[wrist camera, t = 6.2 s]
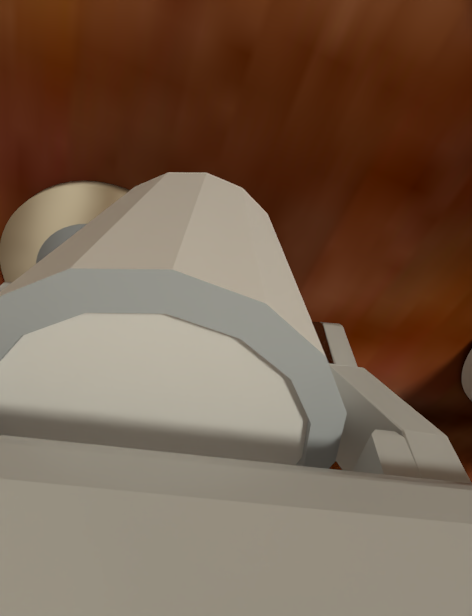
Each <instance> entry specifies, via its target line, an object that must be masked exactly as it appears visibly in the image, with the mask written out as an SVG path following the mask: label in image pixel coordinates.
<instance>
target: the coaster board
mask: <svg viewBox="0 0 472 616" xmlns="http://www.w3.org/2000/svg"><path fill="white" fill-rule="evenodd" d="M129 191H130V190H128V189H126V188H123V187H120V186H117V185H113V184H109V183H104V182H97V181H71V182H66V183H61V184H57V185H54V186H51V187H49V188H46V189H44V190H43V191H41V192H39V193H37V194H36V195H34V196H33V197H32V198H30V199H29V200H28V201H27V202H25V203H24V204H23V205H22V206H20V207H19V208H18V209H17V210H16V211H15V213H14V214H13V215H12V216H11V218H10V219H9V221H8V223H7V224H6V226H5V229H4V231H3V234H2V237H1V243H0V265H1V270H2V274H3V277H4V280H5V282H13V281H15V280H16V279H17V278H19V277H20V276H21V275H22V274H24V273H25V272H26V271H28V270H29V269H30V268H31V267H33V266H34V265H35V264H37V263H38V262H39V261H40V260H42V259H43V258H44V257H46V256H47V255H48V254H49V253H51V252H52V251H53V250H54V249H56V248H57V247H58V246H60V245H61V244H62V243H63V242H65V241H66V240H67V239H69V238H70V237H71V236H72V235H74V234H75V233H76V232H78V231H79V230H80V229H81V228H83V227H84V226H85V225H87V224H88V223H89V222H90V221H92V220H93V219H94V218H95V217H97V216H98V215H99V214H101V213H102V212H103V211H104V210H106V209H107V208H108V207H110V206H111V205H112V204H113V203H115V202H116V201H117V200H119V199H120V198H121V197H122V196H124V195H125V194H126V193H128V192H129Z"/></svg>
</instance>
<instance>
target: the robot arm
mask: <svg viewBox="0 0 472 616" xmlns="http://www.w3.org/2000/svg"><path fill="white" fill-rule="evenodd" d="M11 283H12V282H5V283H3V284H2V285H1V286H0V292H1V291H2V290H3V289H5V288H6V287H7V286H8V285H10V284H11ZM312 324H313V326H314V328H315V331H316V333H317V336H318V338H319V341H320V343H321V346H322V348H323V350H324V353H325V355H326V358H327V361H328V363H329V366H330V369H331V371H332V374H333V377H334V379H335V382H336V385H337V388H338V390H339V393H340V396H341V398H342V401H343V404H344V406H345V409H346V412H347V415H346V419H345V423H344V428H343V432H342V436H341V440H340V444H339V448H338V453H337V457H336V462H337V463H338V464H339V466H340V467H341V469H342V470H336V469H326V468H317V467H307V466H297V465H288V464H278V463H268V462H258V461H249V460H239V459H229V458H220V457H210V456H201V455H191V454H181V453H172V452H162V451H152V450H143V449H133V448H123V447H114V446H104V445H95V444H85V443H75V442H65V441H56V440H46V439H36V438H26V437H16V436H6V435H0V616H472V483H471V481H470V479H469V477H468V476H467V474H466V472H465V470H464V468H463V466H462V464H461V462H460V460H459V458H458V456H457V454H456V452H455V451H454V449H453V447H452V445H451V443H450V441H449V439H448V437H447V436H446V435H445V434H444V433H443V432H441V431H440V430H439V429H438V428H436V427H435V426H434V425H433V424H432V423H430V422H429V421H428V420H427V419H425V418H424V417H423V416H422V415H421V414H419V413H418V412H417V411H416V410H414V409H413V408H412V407H411V406H410V405H408V404H407V403H406V402H405V401H403V400H402V399H401V398H400V397H399V396H397V395H396V394H395V393H394V392H392V391H391V390H390V389H389V388H388V387H386V386H385V385H384V384H383V383H381V382H380V381H379V380H378V379H377V378H375V377H374V376H373V375H372V374H370V373H369V372H368V371H367V370H366V369H364V368H361V367H357V364H356V361H355V358H354V356H353V353H352V350H351V348H350V345H349V342H348V339H347V337H346V334H345V331H344V328H343V326H342V325H341V324H336V323H325V322H312ZM462 386H463V389H464V392H465V393H466V395H467V396H468V398H469V399H470V400H471V401H472V349H471V351H470V353H469V354H468V356H467V358H466V360H465V363H464V366H463V369H462Z"/></svg>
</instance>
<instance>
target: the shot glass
mask: <svg viewBox="0 0 472 616" xmlns="http://www.w3.org/2000/svg"><path fill="white" fill-rule="evenodd" d="M346 415H347V412H346V409H345V406H344V404H343V401H342V398H341V396H340V393H339V390H338V388H337V385H336V382H335V379H334V377H333V374H332V371H331V369H330V366H329V363H328V361H327V358H326V355H325V353H324V350H323V348H322V346H321V343H320V341H319V338H318V336H317V333H316V331H315V328H314V326H313V324H312V321H311V319H310V316H309V314H308V311H307V309H306V306H305V304H304V302H303V299H302V297H301V294H300V292H299V289H298V287H297V284H296V282H295V280H294V277H293V275H292V272H291V270H290V267H289V265H288V262H287V260H286V258H285V255H284V253H283V250H282V248H281V245H280V243H279V240H278V238H277V236H276V233H275V231H274V228H273V226H272V223H271V221H270V218H269V216H268V214H267V213H266V212H265V211H264V210H263V209H262V208H261V207H260V206H259V205H258V203H257V202H256V201H255V200H254V199H253V198H252V197H251V196H250V195H249V194H248V193H247V192H246V191H245V190H244V189H243V188H241V187H239V186H237V185H234V184H232V183H230V182H227V181H225V180H223V179H220V178H218V177H216V176H213V175H211V174H209V173H181V172H168V173H166V174H163V175H161V176H159V177H156V178H154V179H152V180H149V181H147V182H145V183H143V184H140V185H138V186H136V187H134V188H133V189H131V190H130V191H129V192H128V193H126V194H125V195H124V196H122V197H121V198H120V199H119V200H117V201H116V202H115V203H113V204H112V205H111V206H110V207H108V208H107V209H106V210H104V211H103V212H102V213H101V214H99V215H98V216H97V217H95V218H94V219H93V220H92V221H90V222H89V223H88V224H87V225H85V226H84V227H83V228H81V229H80V230H79V231H78V232H76V233H75V234H74V235H72V236H71V237H70V238H69V239H67V240H66V241H65V242H63V243H62V244H61V245H60V246H58V247H57V248H56V249H54V250H53V251H52V252H51V253H49V254H48V255H47V256H46V257H44V258H43V259H42V260H40V261H39V262H38V263H37V264H35V265H34V266H33V267H31V268H30V269H29V270H28V271H26V272H25V273H24V274H22V275H21V276H20V277H19V278H17V279H16V280H15V281H13V282H12V283H11V284H10V285H8V286H7V287H6V288H5V289H3V290H2V291H1V292H0V435H6V436H16V437H26V438H36V439H46V440H56V441H65V442H75V443H85V444H95V445H104V446H114V447H123V448H133V449H143V450H152V451H162V452H172V453H181V454H191V455H201V456H210V457H220V458H229V459H239V460H249V461H258V462H268V463H278V464H288V465H297V466H307V467H317V468H326V469H329V468H330V467H331V466H332V465H333V464H334V462H335V461H336V457H337V453H338V448H339V444H340V440H341V436H342V432H343V428H344V423H345V419H346Z"/></svg>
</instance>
